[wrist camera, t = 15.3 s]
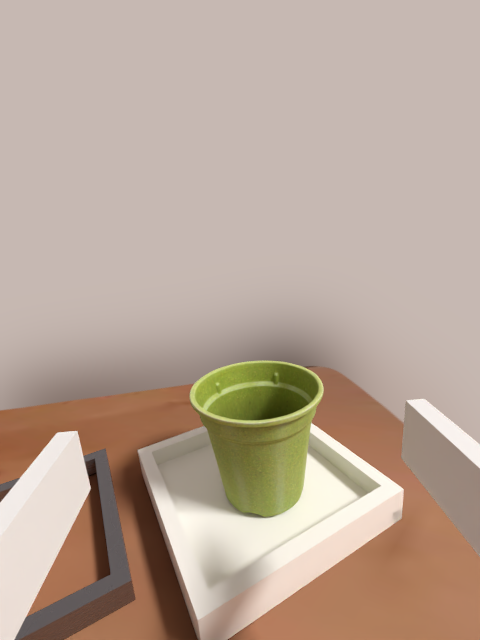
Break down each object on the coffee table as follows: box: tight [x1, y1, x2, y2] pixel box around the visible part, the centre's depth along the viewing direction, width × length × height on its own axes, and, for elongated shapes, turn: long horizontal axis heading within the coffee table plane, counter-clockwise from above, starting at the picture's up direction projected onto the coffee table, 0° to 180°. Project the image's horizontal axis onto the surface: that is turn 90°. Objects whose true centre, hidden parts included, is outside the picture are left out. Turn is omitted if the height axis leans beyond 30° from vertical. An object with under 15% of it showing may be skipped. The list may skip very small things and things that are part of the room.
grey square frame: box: [0, 449, 135, 640], centre depth 22 cm, size 14×14×2 cm
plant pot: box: [190, 361, 323, 517], centre depth 24 cm, size 9×9×9 cm
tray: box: [138, 423, 404, 640], centre depth 25 cm, size 15×15×2 cm
